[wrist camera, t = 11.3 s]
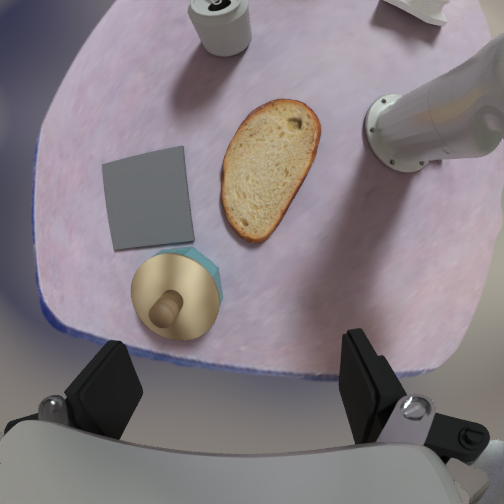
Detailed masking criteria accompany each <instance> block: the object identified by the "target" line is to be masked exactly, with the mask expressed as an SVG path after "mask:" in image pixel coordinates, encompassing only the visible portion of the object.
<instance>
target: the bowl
mask: <svg viewBox="0 0 504 504" xmlns="http://www.w3.org/2000/svg"><path fill="white" fill-rule="evenodd" d="M163 253H178V254H182V255H185V256H188V257H190V258H192V259H194V260H196V261H197V262H199V263H200V264H201V265H202V266H203V267H205V268H206V269H207V271H208V272H209V273H210V274H211V276H212V277H213V279H214V281H215V283H216V285H217V288H218V291H219V296H220V305H221V302H222V299H223V294H222V287H221V281H220V274H219V268H218V266H216V265H215V264H214V263H212V262H211V261H210V260H209V259H207V258H206V257H205V256H204V255H202V254H201V253H200V252H198V251H197V250H196V249H195V248H193V247H185V248H175V249H165V250H161V251H160V252H158V253H157V254H156V255H159V254H163ZM156 255H154V256H156ZM154 256H153V257H154ZM151 258H152V257H151ZM219 308H220V307H219Z"/></svg>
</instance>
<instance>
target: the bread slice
mask: <svg viewBox="0 0 504 504" xmlns="http://www.w3.org/2000/svg"><path fill="white" fill-rule="evenodd" d="M320 136H321V124H320V122H319V119H318V117H317V115H316V114H315V113H314V111H313V110H312V109H311V108H310V107H309V106H307V105H306V104H304V103H303V102H300V101H297V100H290V99H276V100H273V101H270V102H268V103H266V104H264V105H262V106H260V107H258V108H256V109H254V110H253V111H252V112H251V113H250V114H249V115H248V116H247V118H246V119H245V120H244V121H243V122H242V123H241V125H240V127H239V128H238V130H237V132H236V134H235V136H234V137H233V139H232V140H231V142H230V144H229V146H228V149H227V151H226V154H225V157H224V160H223V173H222V184H221V196H222V204H223V208H224V211H225V214H226V218H227V220H228V222H229V224H230V226H231V227H232V228H233V229H234V231H235V232H236V233H237V234H238V235H239V236H240V237H241V238H243V239H244V240H246V241H247V242H250V243H261V242H264V241H265V240H266V239H268V238H269V236H270V235H271V233H272V232H273V231H274V230H275V229H276V228H277V226H278V225H279V223H280V222H281V220H282V218H283V217H284V215H285V213H286V212H287V210H288V207H289V205H290V204H291V202H292V200H293V199H294V197H295V195H296V194H297V192H298V190H299V188H300V187H301V185H302V183H303V182H304V180H305V178H306V176H307V174H308V172H309V170H310V168H311V165H312V163H313V162H314V159H315V157H316V153H317V148H318V144H319V141H320Z"/></svg>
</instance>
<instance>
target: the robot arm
mask: <svg viewBox="0 0 504 504" xmlns="http://www.w3.org/2000/svg"><path fill="white" fill-rule="evenodd" d="M381 101H382V102H383V103H382V102H381ZM365 130H366V136H367V140H368V142H369V145H370V147H371V149H372V150H373V152H374V154H375V155H376V156H377V157H378V159H379V160H380V161H381V162H382V163H384V164H385V165H386V166H388V167H389V168H391V169H393V170H396V171H399V172H415V171H418V170H420V169H422V168H423V167H424V166H426V165H427V164H428V162H429V161H430V160H442V159H459V158H478V157H483V156H486V155H488V154H490V153H491V152H492V151H493V150H495V148H496V147H497V146H498V145H499V143H500V142H501V140H502V138H503V139H504V33H502V34H500V35H498V36H497V37H495V38H494V39H492V40H491V41H490V42H489V43H487V44H486V45H485V46H484V47H483V48H482V49H481V50H479V51H478V52H477V53H476V54H475V55H473V56H472V57H471V58H469V59H468V60H467V61H465V62H464V63H462V64H461V65H459V66H457V67H455V68H454V69H452V70H450V71H449V72H447V73H445V74H443V75H441V76H439V77H437V78H435V79H433V80H432V81H430V82H428V83H426V84H424V85H422V86H420V87H419V88H417V89H415V90H413V91H411V92H410V93H408V94H406V95H399V94H388V95H384V96H382V97H380V98H378V99H377V100H376V101H374V103H373V104H372V105H371V106H370V108H369V110H368V112H367V115H366V120H365ZM370 130H371V131H372V132H370ZM390 161H391V164H390ZM419 162H420V163H419ZM339 391H340V394H341V397H342V401H343V404H344V407H345V411H346V414H347V417H348V421H349V424H350V427H351V431H352V434H353V438H354V441H355V445H349V446H341V447H334V448H326V449H318V450H310V451H299V452H287V453H269V454H222V453H221V454H220V453H203V452H192V451H181V450H173V449H165V448H159V447H152V446H147V445H141V444H136V443H131V442H126V441H122V440H119V439H120V438H121V436H122V434H123V432H124V430H125V427H126V426H127V424H128V422H129V420H130V418H131V416H132V414H133V412H134V411H135V409H136V407H137V405H138V403H139V401H140V399H141V397H142V395H143V389H142V386H141V384H140V381H139V379H138V376H137V374H136V371H135V369H134V366H133V364H132V361H131V358H130V356H129V353H128V350H127V347H126V345H125V344H123V343H122V342H121V341H116V340H109V341H108V342H107V343H106V344H105V345H104V346H103V347H102V349H101V350H100V351H99V352H98V353H97V354H96V355H95V356H94V358H93V359H92V360H91V361H90V362H89V363H88V365H87V366H86V367H85V368H84V369H83V370H82V371H81V373H80V374H79V375H78V376H77V377H76V379H75V380H74V381H73V382H72V383H71V384H70V386H69V387H68V388H67V389H66V390H65V392H64V393H65V394H66V396H67V398H66V399H64V398H63V397H62V396H60V395H51V396H48V397H46V398H45V399H44V400H42V401H41V403H40V405H39V408H38V413H36V414H33V415H30V416H27V417H23V418H20V419H16V420H13V421H10V422H9V423H8V424H7V426H6V428H5V430H4V434H3V433H0V504H464V502H463V500H462V497H461V495H460V493H459V490H458V488H457V486H456V484H455V482H454V481H456V482H458V483H459V484H461V486H460V488H462V489H464V490H465V491H466V492H467V493H468V494H469V498H470V500H469V504H504V443H503V442H502V441H500V440H498V439H496V440H495V441H492V440H490V435H489V432H488V430H487V429H486V428H485V427H484V426H483V425H481V424H478V423H474V422H470V421H466V420H462V419H458V418H454V417H450V416H446V415H443V414H439V413H435V410H436V407H435V404H434V402H433V401H432V399H430V398H429V397H427V396H424V395H422V394H410V395H407V394H406V392H405V390H404V389H403V387H402V385H401V383H400V382H399V380H398V378H397V376H396V375H395V373H394V371H393V370H392V368H391V366H390V365H389V363H388V361H387V360H386V358H385V357H384V356H383V355H381V356H377V354H376V352H375V350H374V349H373V347H372V345H371V344H370V342H369V340H368V338H367V337H366V335H365V333H364V332H363V330H362V329H361V328H358V329H351V330H348V331H347V334H343V336H342V350H341V364H340V375H339Z"/></svg>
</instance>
